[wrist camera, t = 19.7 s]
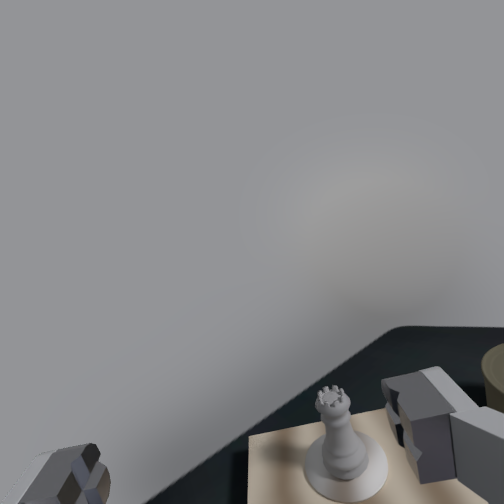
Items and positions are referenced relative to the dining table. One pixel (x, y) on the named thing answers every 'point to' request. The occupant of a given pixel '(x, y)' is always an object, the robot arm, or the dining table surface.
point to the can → (494, 377)
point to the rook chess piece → (340, 436)
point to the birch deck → (335, 489)
